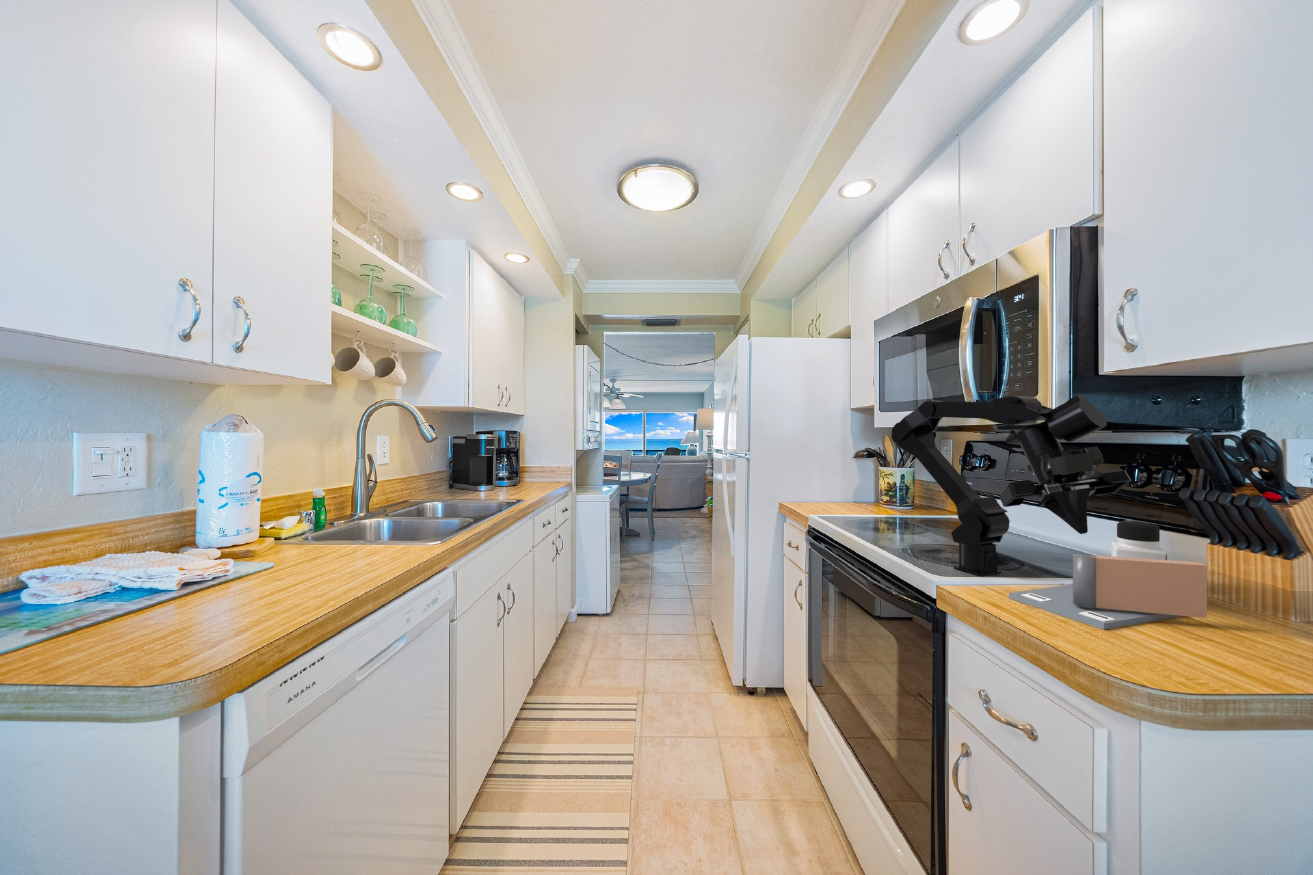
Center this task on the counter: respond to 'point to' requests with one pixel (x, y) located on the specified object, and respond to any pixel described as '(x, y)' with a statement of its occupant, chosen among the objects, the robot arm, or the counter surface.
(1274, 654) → the counter surface
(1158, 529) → the medicine bottle
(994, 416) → the robot arm
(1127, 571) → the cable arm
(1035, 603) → the label board
